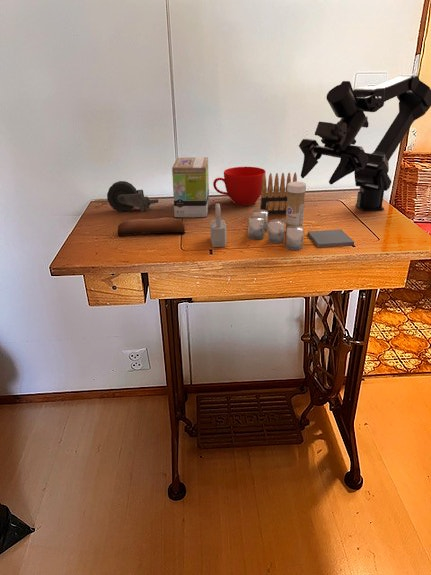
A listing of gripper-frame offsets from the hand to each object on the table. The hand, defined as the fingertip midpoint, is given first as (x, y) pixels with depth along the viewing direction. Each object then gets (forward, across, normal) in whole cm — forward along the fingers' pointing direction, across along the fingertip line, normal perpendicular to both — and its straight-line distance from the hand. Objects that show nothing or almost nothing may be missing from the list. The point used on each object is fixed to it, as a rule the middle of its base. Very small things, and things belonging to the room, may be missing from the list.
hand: (315, 180), depth 115 cm
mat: (+11, +8, +7) cm, 16 cm away
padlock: (+27, -9, -8) cm, 30 cm away
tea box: (+19, -35, 0) cm, 40 cm away
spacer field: (+18, -2, 0) cm, 19 cm away
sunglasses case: (+33, -28, -13) cm, 45 cm away
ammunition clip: (+7, -15, +11) cm, 20 cm away
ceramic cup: (+9, -31, +10) cm, 33 cm away
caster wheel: (+29, -48, -10) cm, 57 cm away
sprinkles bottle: (+14, 0, +4) cm, 15 cm away
